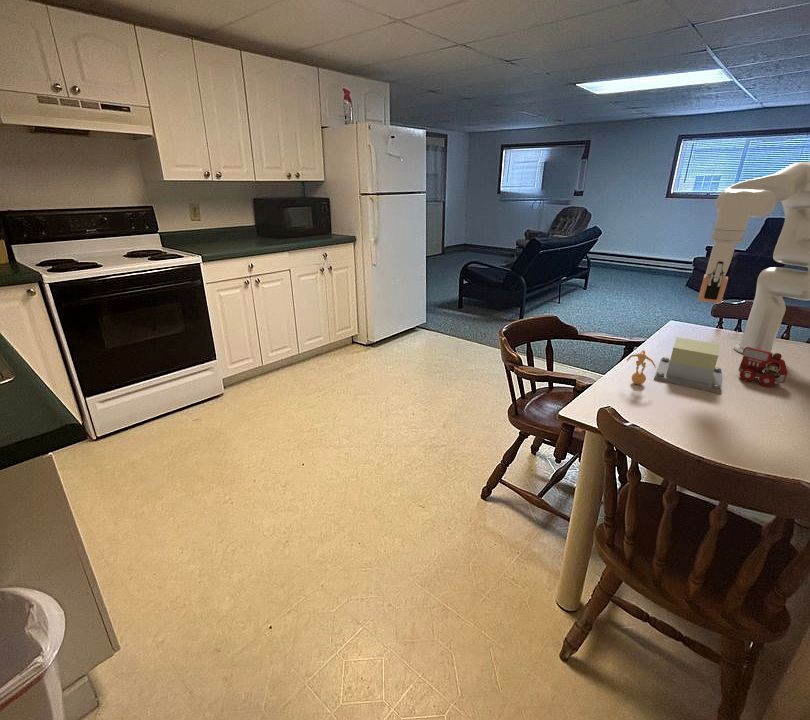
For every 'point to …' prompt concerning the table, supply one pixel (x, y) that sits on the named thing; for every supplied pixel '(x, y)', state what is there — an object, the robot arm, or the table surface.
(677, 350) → the grey yellow stepped block
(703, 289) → the terracotta brick
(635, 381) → the figurine
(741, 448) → the table surface
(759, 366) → the toy fire truck
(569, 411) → the table surface
